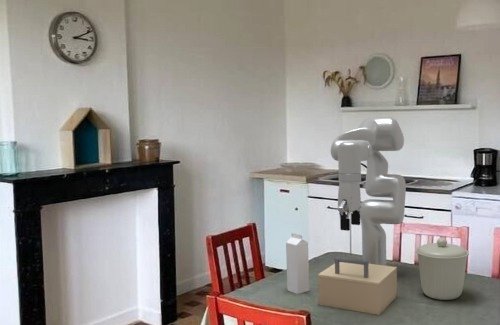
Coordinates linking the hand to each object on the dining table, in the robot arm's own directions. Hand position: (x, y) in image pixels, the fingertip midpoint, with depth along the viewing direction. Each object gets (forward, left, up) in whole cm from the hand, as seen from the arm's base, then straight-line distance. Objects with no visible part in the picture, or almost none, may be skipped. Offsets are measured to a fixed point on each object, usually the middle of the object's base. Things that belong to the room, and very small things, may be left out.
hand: (350, 227), depth 189 cm
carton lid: (-6, 0, -18) cm, 19 cm away
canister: (-24, +25, -28) cm, 45 cm away
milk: (-6, -24, -28) cm, 37 cm away
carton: (-6, 0, -28) cm, 29 cm away
